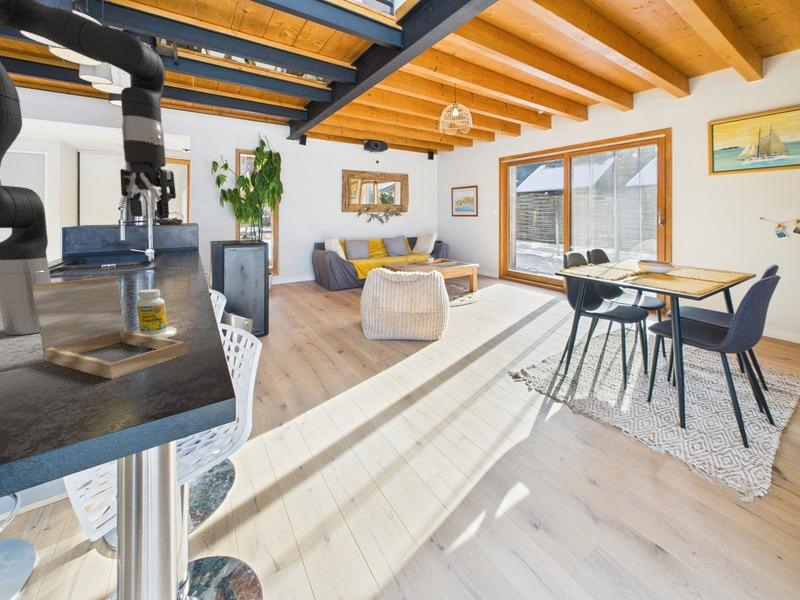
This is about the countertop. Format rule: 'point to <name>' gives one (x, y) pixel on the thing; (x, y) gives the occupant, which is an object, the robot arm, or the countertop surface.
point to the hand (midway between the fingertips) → (149, 217)
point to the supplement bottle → (151, 312)
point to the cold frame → (93, 328)
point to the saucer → (168, 333)
